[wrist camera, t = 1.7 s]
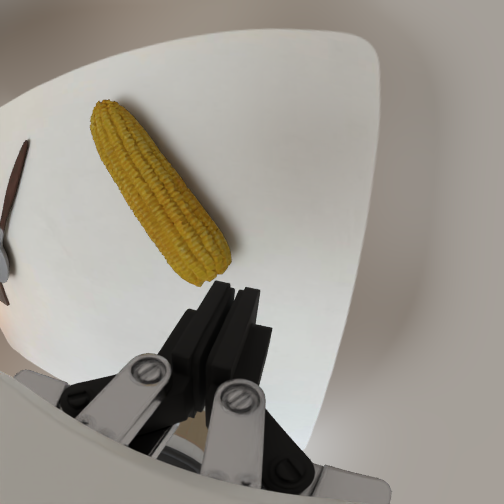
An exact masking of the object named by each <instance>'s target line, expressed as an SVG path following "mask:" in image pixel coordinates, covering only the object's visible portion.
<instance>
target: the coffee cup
mask: <svg viewBox="0 0 504 504" xmlns="http://www.w3.org/2000/svg"><path fill="white" fill-rule="evenodd" d="M207 433H208V428H207V427H206V417H205V407H204V409H203V411H202V412H198V411H197V413H196V415H195V418H191V417H188V419H187V420H186V421H183V422H180V424H179V426H178V428H177V430H176V431H175V433H174V434H173V436H172V437H171V438H170V440H169V441H168V443H167V444H166V446H165V447H164V449H163V450H162V451H161V453H160V454H159V456H158V457H157V458H156V459H157V460H159V461H162V462H165V463H167V464H170V465H173V466H176V467H178V468H181V469H184V470H187V471H190V472H193V473H197V474H200V471H201V466H202V460H203V455H204V449H205V444H206V439H207Z"/></svg>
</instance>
